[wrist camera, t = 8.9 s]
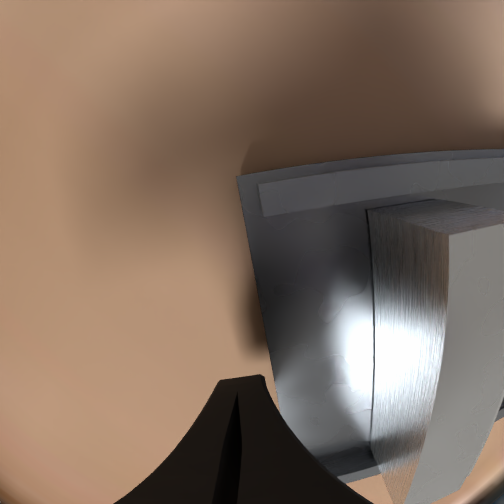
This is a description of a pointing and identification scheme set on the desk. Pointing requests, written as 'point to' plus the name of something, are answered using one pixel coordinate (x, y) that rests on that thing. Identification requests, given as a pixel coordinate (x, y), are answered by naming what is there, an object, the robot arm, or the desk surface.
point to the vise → (339, 282)
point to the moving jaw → (435, 343)
